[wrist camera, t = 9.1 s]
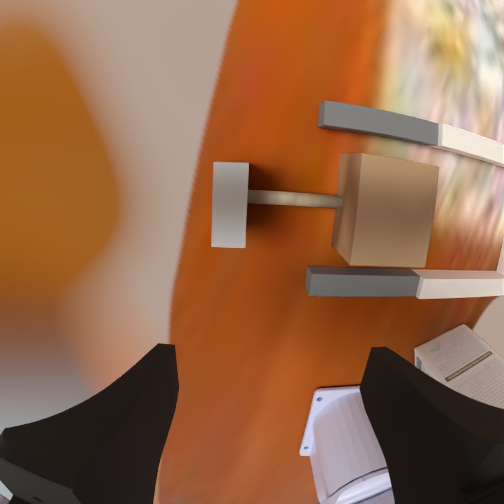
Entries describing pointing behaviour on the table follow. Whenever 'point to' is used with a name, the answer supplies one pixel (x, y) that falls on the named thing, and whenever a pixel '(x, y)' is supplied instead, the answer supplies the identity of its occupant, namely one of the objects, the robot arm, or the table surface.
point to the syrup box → (464, 365)
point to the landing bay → (369, 279)
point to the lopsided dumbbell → (345, 208)
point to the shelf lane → (500, 280)
